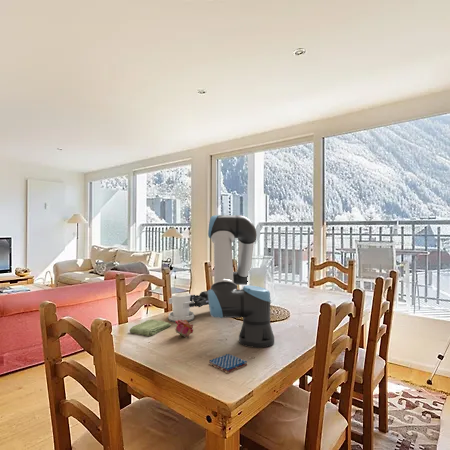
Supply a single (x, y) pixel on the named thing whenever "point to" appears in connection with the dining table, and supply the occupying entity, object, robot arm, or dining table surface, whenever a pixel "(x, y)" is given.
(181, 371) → the dining table surface
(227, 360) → the woven mat
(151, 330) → the washcloth
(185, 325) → the flower
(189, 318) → the grey round dish
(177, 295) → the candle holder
